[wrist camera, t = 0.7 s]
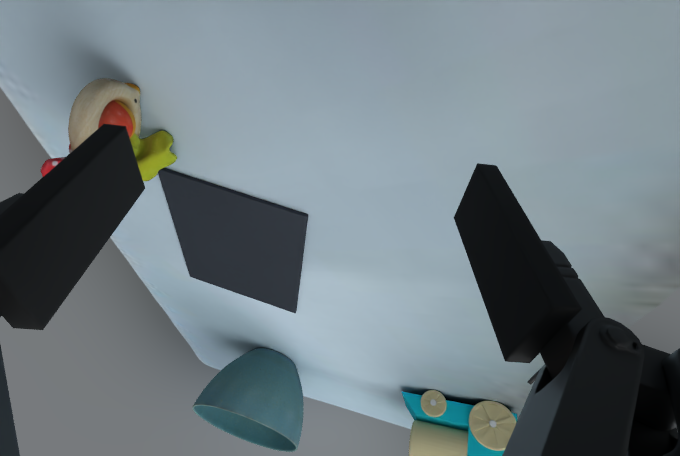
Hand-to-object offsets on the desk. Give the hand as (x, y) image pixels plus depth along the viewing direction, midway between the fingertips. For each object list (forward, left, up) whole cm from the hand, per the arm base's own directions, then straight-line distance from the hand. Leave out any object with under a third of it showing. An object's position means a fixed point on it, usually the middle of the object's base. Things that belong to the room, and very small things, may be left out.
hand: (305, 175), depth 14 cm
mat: (+26, -11, -13) cm, 31 cm away
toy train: (+48, +25, -13) cm, 56 cm away
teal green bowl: (+57, -6, -13) cm, 59 cm away
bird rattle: (+10, -19, -13) cm, 25 cm away
